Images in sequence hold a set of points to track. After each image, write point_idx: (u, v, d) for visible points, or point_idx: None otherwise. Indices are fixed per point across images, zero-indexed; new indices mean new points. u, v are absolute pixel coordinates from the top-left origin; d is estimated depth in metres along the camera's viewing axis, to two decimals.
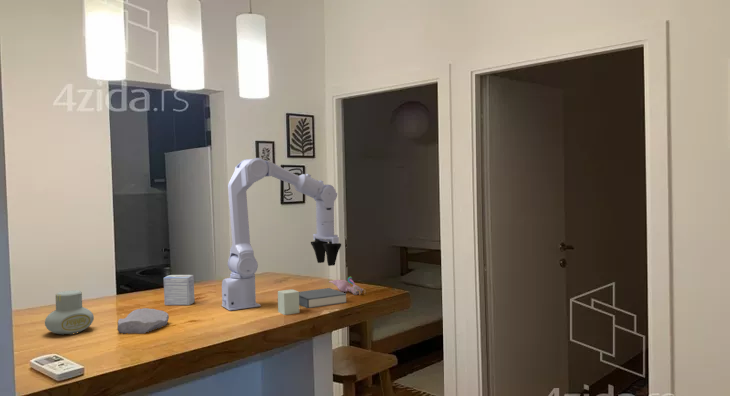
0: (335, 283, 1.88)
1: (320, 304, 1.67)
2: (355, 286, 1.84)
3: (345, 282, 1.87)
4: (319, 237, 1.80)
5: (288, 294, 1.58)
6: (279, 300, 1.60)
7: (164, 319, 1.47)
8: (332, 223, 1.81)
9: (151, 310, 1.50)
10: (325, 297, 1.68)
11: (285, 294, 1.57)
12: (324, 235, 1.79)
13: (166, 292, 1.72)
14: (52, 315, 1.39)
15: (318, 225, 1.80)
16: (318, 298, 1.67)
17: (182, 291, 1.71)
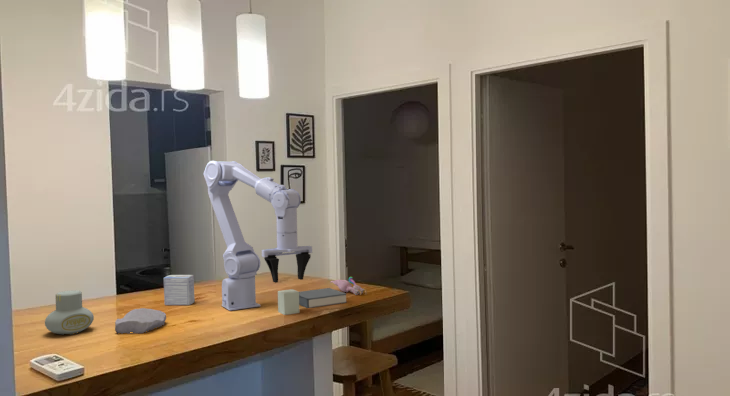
0: (336, 283, 1.88)
1: (320, 304, 1.67)
2: (356, 286, 1.83)
3: (346, 282, 1.87)
4: None
5: (288, 294, 1.58)
6: (279, 300, 1.60)
7: (162, 319, 1.47)
8: (280, 234, 1.57)
9: (148, 310, 1.50)
10: (325, 297, 1.68)
11: (285, 294, 1.57)
12: None
13: (166, 292, 1.72)
14: (52, 315, 1.39)
15: None
16: (318, 298, 1.67)
17: (182, 291, 1.71)
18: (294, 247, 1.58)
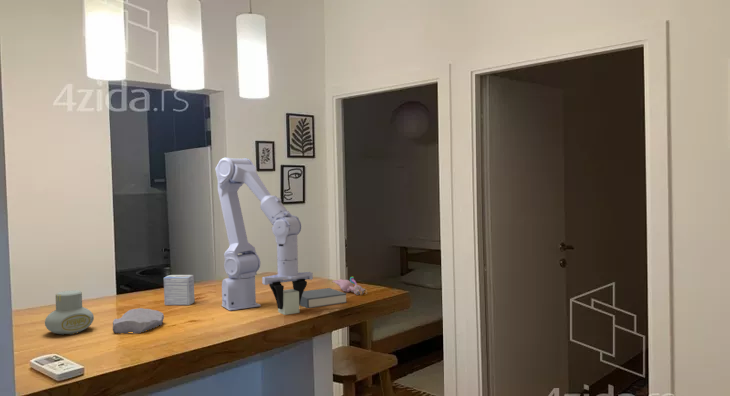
0: (338, 283, 1.88)
1: (320, 304, 1.67)
2: (357, 286, 1.83)
3: (347, 282, 1.87)
4: None
5: (288, 294, 1.58)
6: None
7: (159, 319, 1.47)
8: (281, 262, 1.57)
9: (146, 310, 1.50)
10: (325, 297, 1.68)
11: (285, 294, 1.57)
12: None
13: (166, 292, 1.72)
14: (52, 315, 1.39)
15: None
16: (318, 298, 1.67)
17: (182, 291, 1.71)
18: (295, 274, 1.58)
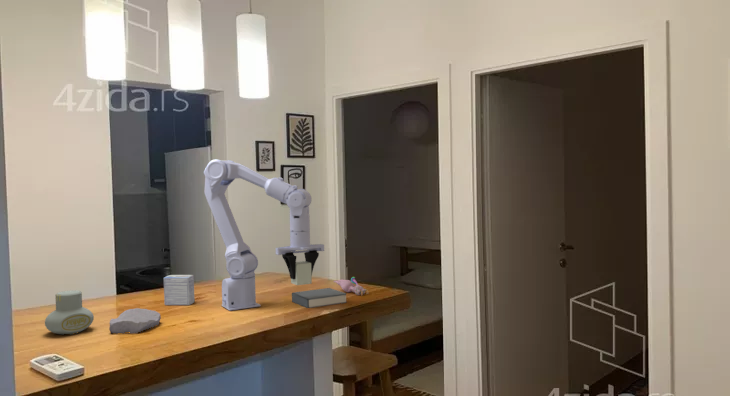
0: (339, 283, 1.88)
1: (320, 304, 1.67)
2: (358, 286, 1.83)
3: (349, 282, 1.87)
4: None
5: (301, 265, 1.62)
6: None
7: (156, 319, 1.47)
8: (293, 233, 1.62)
9: (143, 310, 1.50)
10: (325, 297, 1.68)
11: (298, 265, 1.62)
12: (290, 245, 1.65)
13: (166, 292, 1.72)
14: (52, 315, 1.39)
15: None
16: (318, 298, 1.67)
17: (182, 291, 1.71)
18: (307, 245, 1.63)
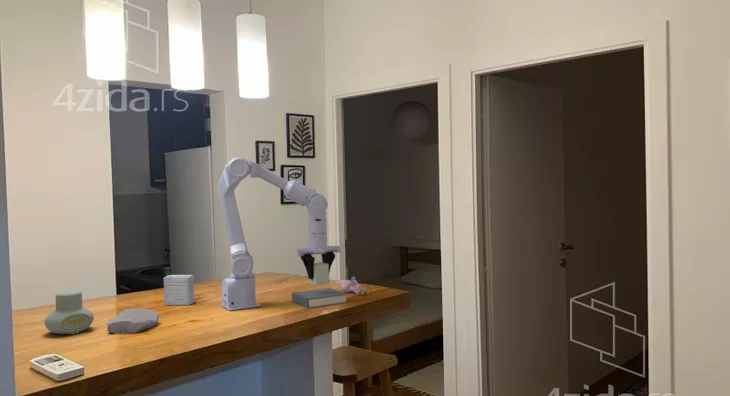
0: (339, 283, 1.88)
1: (320, 304, 1.67)
2: (358, 286, 1.83)
3: (349, 282, 1.86)
4: None
5: (319, 266, 1.70)
6: None
7: (154, 319, 1.47)
8: (312, 235, 1.70)
9: (141, 310, 1.50)
10: (325, 297, 1.68)
11: (316, 266, 1.69)
12: (308, 247, 1.72)
13: (166, 292, 1.72)
14: (52, 315, 1.39)
15: None
16: (318, 298, 1.67)
17: (182, 291, 1.71)
18: (324, 247, 1.71)
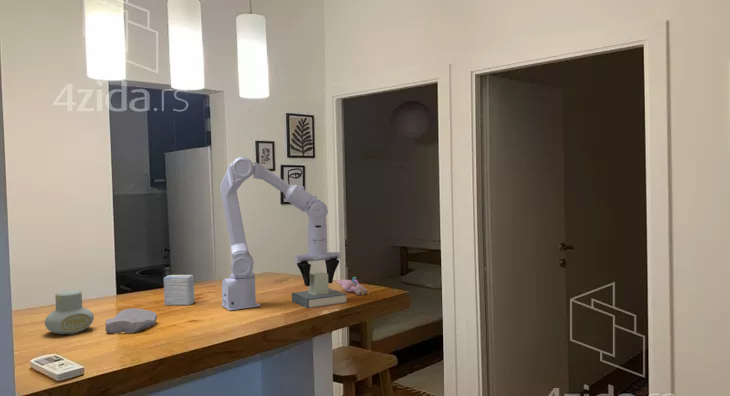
0: (340, 283, 1.88)
1: (320, 304, 1.67)
2: (359, 286, 1.83)
3: (350, 282, 1.86)
4: None
5: (318, 276, 1.70)
6: None
7: (152, 319, 1.47)
8: (312, 242, 1.70)
9: (139, 310, 1.50)
10: (325, 297, 1.68)
11: (315, 276, 1.70)
12: None
13: (166, 292, 1.72)
14: (52, 315, 1.39)
15: None
16: (318, 298, 1.67)
17: (182, 291, 1.71)
18: (324, 253, 1.71)
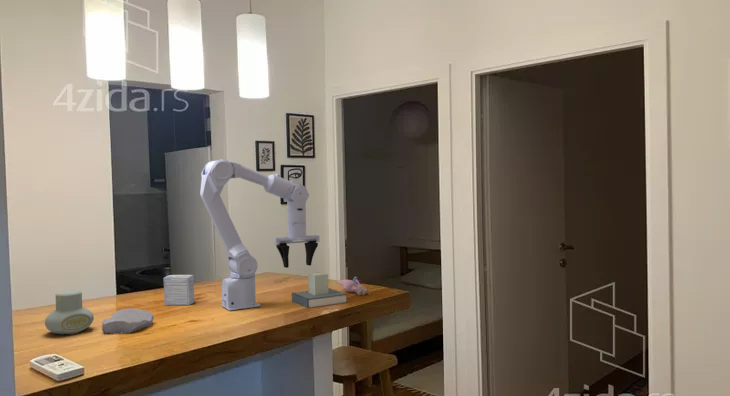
0: (341, 283, 1.88)
1: (320, 304, 1.67)
2: (360, 286, 1.83)
3: (351, 282, 1.86)
4: None
5: (318, 276, 1.70)
6: (309, 282, 1.72)
7: (149, 319, 1.47)
8: (291, 224, 1.74)
9: (136, 310, 1.50)
10: (325, 297, 1.68)
11: (315, 276, 1.70)
12: None
13: (166, 292, 1.72)
14: (52, 315, 1.39)
15: None
16: (318, 298, 1.67)
17: (182, 291, 1.71)
18: (303, 236, 1.75)
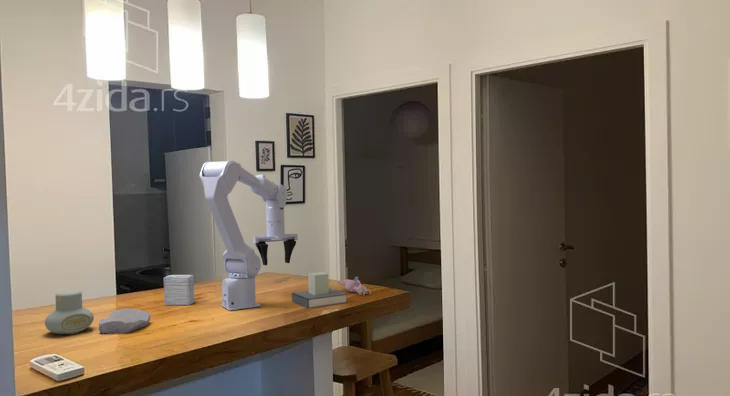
0: (343, 283, 1.88)
1: (320, 304, 1.67)
2: (361, 286, 1.83)
3: (352, 282, 1.86)
4: None
5: (318, 276, 1.70)
6: (310, 281, 1.72)
7: (146, 319, 1.47)
8: (269, 223, 1.80)
9: (133, 310, 1.50)
10: (325, 297, 1.68)
11: (315, 276, 1.70)
12: None
13: (166, 292, 1.72)
14: (52, 315, 1.39)
15: None
16: (318, 298, 1.67)
17: (182, 291, 1.71)
18: (281, 234, 1.80)
